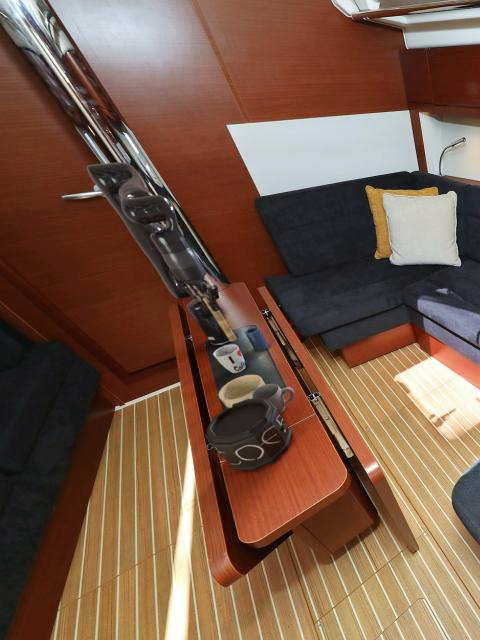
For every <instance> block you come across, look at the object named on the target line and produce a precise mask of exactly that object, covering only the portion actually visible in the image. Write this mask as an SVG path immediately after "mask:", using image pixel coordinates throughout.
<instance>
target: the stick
mask: <svg viewBox="0 0 480 640" xmlns="http://www.w3.org/2000/svg"><path fill="white" fill-rule="evenodd" d="M207 297H208V298H209V296H207ZM202 299H203V300H204V302H205V304H206V305H207V307H208V308H209V310H210V311H211V313H212V314H213V316H214V317H215V319H216V320H217V322H218V323H219V325H220V327H221V328H222V330H223V331H224V333H225V334H226V336H227V337H228V339H229V340H230V342H234V341H235V342H236V341H237V336H236V334H235V332H234V331H233V329H232V328H231V327H229V326H230V325H229V323H228V322H227V320H226V318H225V316H224V317H223V316H222V314H223V313H222V312H221V310H218V311H216V312H214V311H213V310H212V309H211V307H210V306H209V304H208V302H207V301H206V300H205V298H204V297H203V298H202ZM220 312H221V313H220ZM224 318H225V319H224ZM227 323H228V324H227ZM232 331H233V332H232ZM234 334H235V335H234Z"/></svg>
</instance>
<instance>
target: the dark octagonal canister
mask: <svg viewBox="0 0 480 640" xmlns="http://www.w3.org/2000/svg"><path fill="white" fill-rule="evenodd" d="M277 411H278V409H277V408H276V407H275V406H274V405H273V404H272V403H271V402H270V401H267V400H264V399H247V400H244V401H241V402H238V403H235V404H232V407H225V408H224V409H223V410H221V411H219V413H217V414H215V416H213V417H212V419H211V421H210V423H209V425H208V427H207V428H206V430H205V431H206V433H205V438H206V439H207V441H208V442H209V444H210V445H211V447H212V448H216V450H217V451H218V453H219V455H220V456H221V457H222V458H223V459H224V460H225V461H226V462H227V463H228V464H229V466H230V467H231V469H232V470H235V471H258V470H260V469H263V468H264V467H267V466H269V465H271V464H274V463H275V462H276V461H278V460H279V458H281V456H283V455H284V454H285V453H286V452H287V451H288V449H289V446H290V443H291V439H292V435H293V431H292V430H291V429H290V428H289V426H288V424H287V423H286V421H285V420H284V418H283V417H282V416H281V414H278V412H277Z"/></svg>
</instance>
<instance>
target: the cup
mask: <svg viewBox="0 0 480 640" xmlns="http://www.w3.org/2000/svg"><path fill="white" fill-rule="evenodd" d="M212 355H213V356H214V358H215V359H216V360H217V361H218V362H219V364H221V366H222V367H224V368H225V369H226V370H227V371H229V372H230V373H232V374H237V373H240V372H243V371H244V370H245V369H246V361H245V359H244V356H243V354H242V351H241V349H240V348H239V346H238V345H237V344H235V343H233V344H232V343H231V344H225V345H222V346H221V347H219V348H217V349H216V350H214V351H213V353H212Z"/></svg>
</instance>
